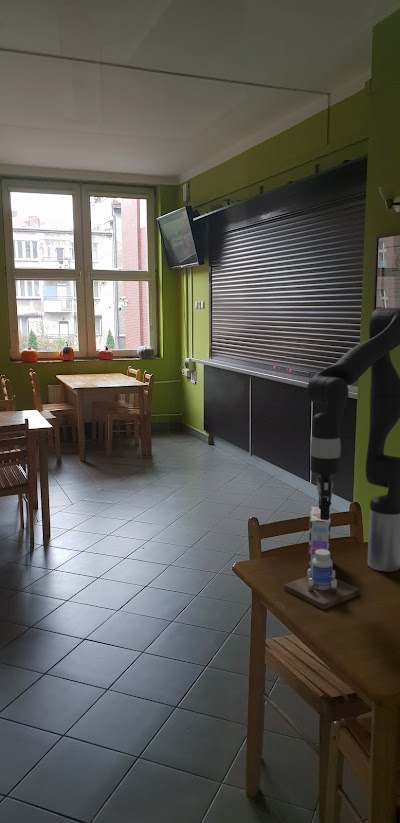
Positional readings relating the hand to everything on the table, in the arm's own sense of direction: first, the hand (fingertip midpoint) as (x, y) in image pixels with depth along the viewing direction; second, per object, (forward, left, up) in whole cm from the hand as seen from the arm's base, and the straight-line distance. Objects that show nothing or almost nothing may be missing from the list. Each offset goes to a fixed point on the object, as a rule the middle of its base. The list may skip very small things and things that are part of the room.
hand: (323, 514), depth 157 cm
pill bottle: (0, 0, -20) cm, 20 cm away
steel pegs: (0, 0, -20) cm, 20 cm away
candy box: (-12, -12, -22) cm, 28 cm away
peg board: (0, 0, -22) cm, 22 cm away
